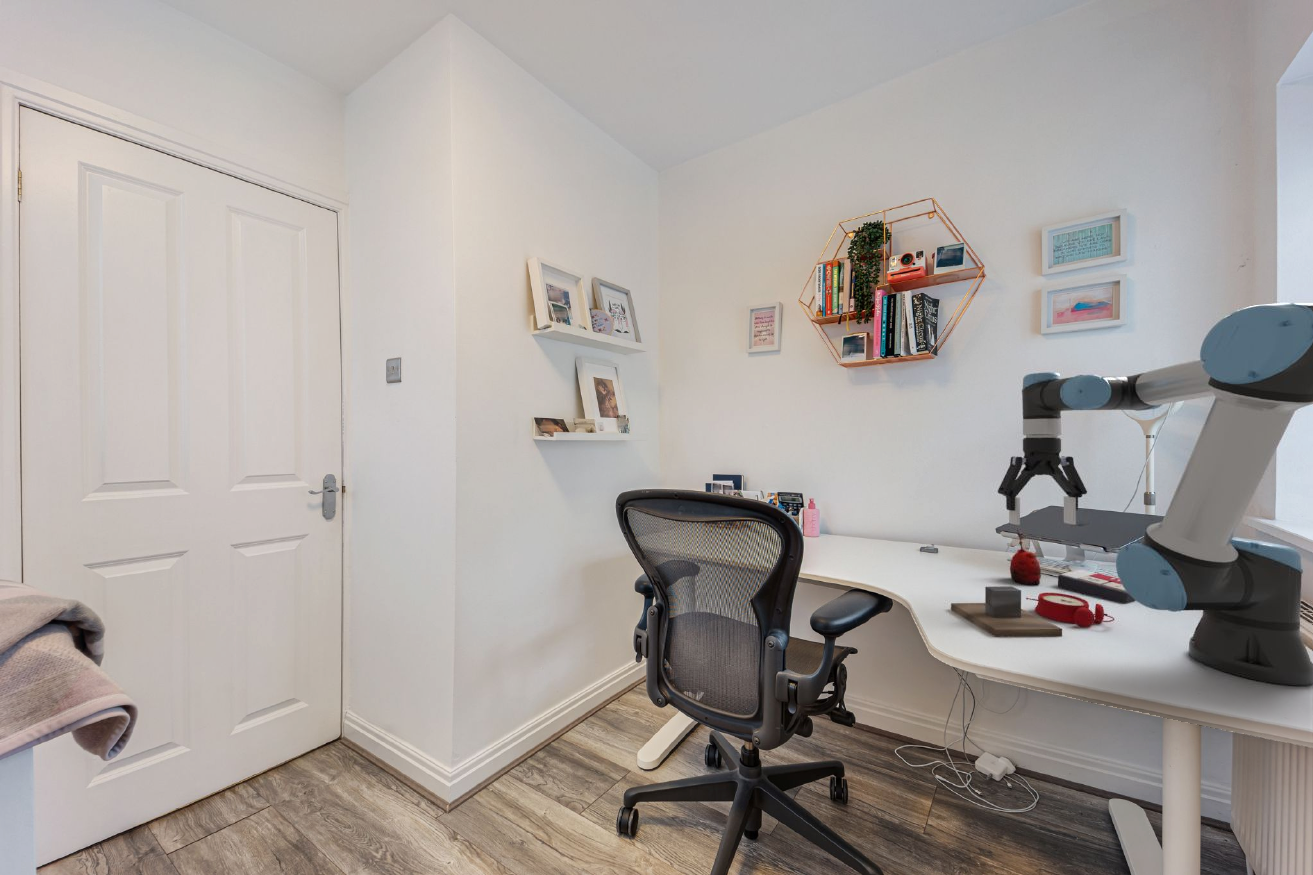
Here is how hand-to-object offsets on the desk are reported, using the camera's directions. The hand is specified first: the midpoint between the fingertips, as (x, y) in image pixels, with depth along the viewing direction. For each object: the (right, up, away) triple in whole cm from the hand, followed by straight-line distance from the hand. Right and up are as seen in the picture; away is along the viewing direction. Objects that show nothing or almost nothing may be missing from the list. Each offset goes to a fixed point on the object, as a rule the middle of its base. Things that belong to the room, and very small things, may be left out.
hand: (1042, 524), depth 127 cm
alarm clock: (0, -21, -8) cm, 22 cm away
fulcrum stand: (-17, -20, -11) cm, 28 cm away
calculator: (+23, -20, +10) cm, 32 cm away
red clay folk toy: (+9, -20, +19) cm, 29 cm away
